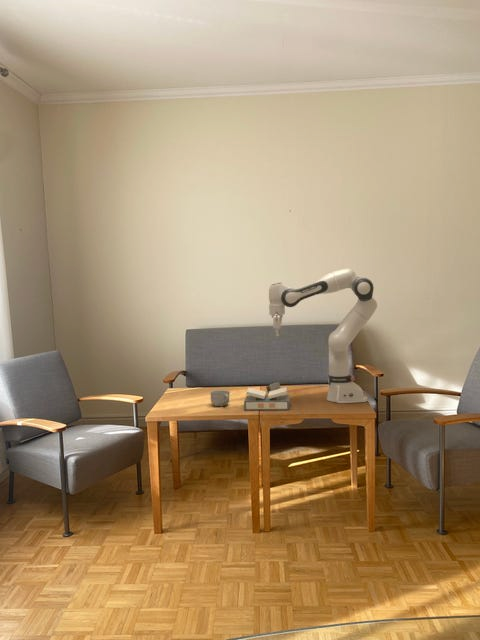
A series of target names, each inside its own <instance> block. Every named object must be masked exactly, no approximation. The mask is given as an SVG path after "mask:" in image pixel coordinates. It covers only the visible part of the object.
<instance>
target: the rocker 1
mask: <svg viewBox="0 0 480 640" xmlns="http://www.w3.org/2000/svg"><path fill="white" fill-rule="evenodd" d="M266 393H267V391H264V390H261V389H257V388H253V387H248V388H247V391H246V394H245V395H246V396H247V395H250V396H254V397H258V398H262V399H264V398H265V395H267V394H266Z"/></svg>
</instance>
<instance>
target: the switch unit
mask: <svg viewBox="0 0 480 640" xmlns="http://www.w3.org/2000/svg"><path fill="white" fill-rule="evenodd" d="M290 398H291V397H290V394H285V395H281V396H278V397H274V398H271V399H269V398H268V394H265V398H264V399H262V398H258V397H254V396H250V395H246V396H245V397H244V401H243V406H244V407H243V409H244V412H245V411H290V406H291V405H290V404H291V402H290V400H291V399H290Z"/></svg>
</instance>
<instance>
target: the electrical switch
mask: <svg viewBox="0 0 480 640" xmlns="http://www.w3.org/2000/svg"><path fill="white" fill-rule="evenodd" d="M280 388H282V387H281V384H280V382H278V381H277V382H274V383H271V384H269V385H268V386H266V388H265V389H266V393H267V395H268V394H269V392H270V391H273V390H277V389H280Z"/></svg>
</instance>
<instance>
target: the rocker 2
mask: <svg viewBox="0 0 480 640" xmlns="http://www.w3.org/2000/svg"><path fill="white" fill-rule="evenodd" d="M287 393H288V388H287V386H284V387H281V388H280V389H277V390H273V391H270V392H269V394H268V393H267V395H268V398H269V399H271V398H274V397H278V396H281V395H288V394H287Z"/></svg>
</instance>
